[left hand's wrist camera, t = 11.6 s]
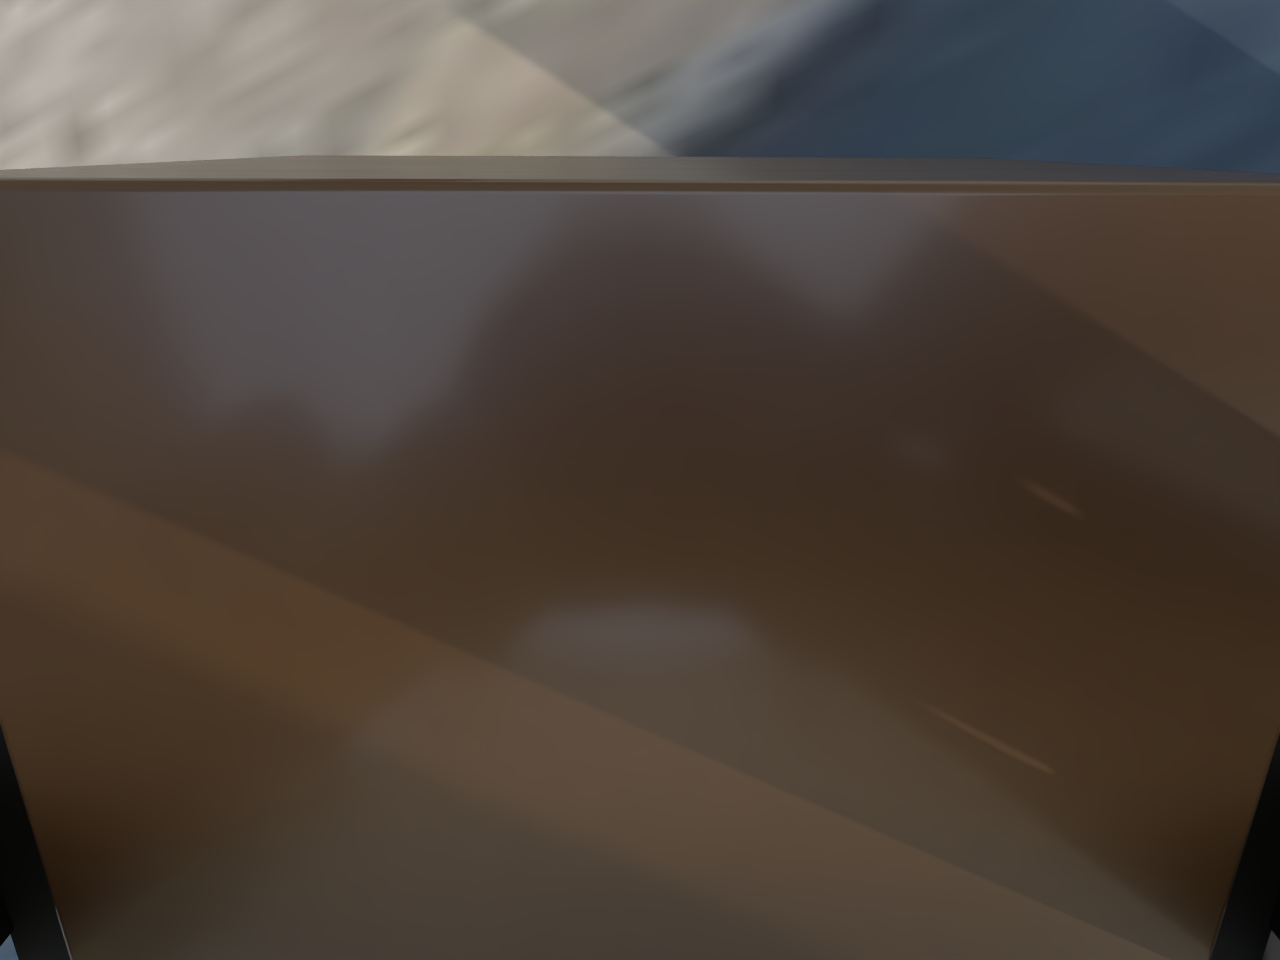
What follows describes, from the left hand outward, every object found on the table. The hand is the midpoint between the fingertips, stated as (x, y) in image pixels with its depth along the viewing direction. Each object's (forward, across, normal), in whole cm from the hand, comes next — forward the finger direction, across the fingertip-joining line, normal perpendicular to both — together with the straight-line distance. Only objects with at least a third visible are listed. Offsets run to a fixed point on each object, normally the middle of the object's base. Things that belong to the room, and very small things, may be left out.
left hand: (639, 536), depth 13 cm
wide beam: (+1, 0, -25) cm, 25 cm away
